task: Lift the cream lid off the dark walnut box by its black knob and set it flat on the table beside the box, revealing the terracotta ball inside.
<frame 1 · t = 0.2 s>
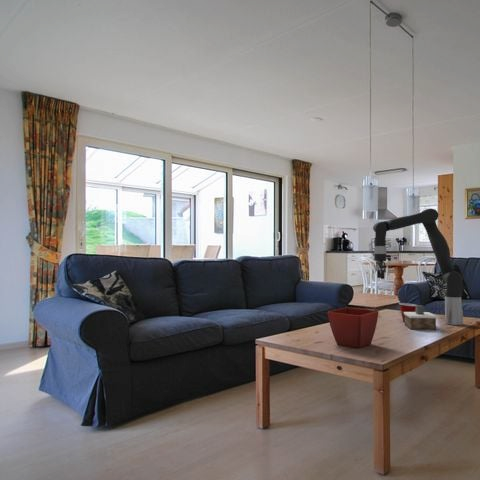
hand: (380, 278, 267), 29 cm above the table, tool pointing down, fingers open, 8 cm apart
walnut box: (419, 327, 252), on the table
plastic cup: (408, 322, 270), on the table
terracotta ball: (419, 322, 252), point 3 cm above the table, touching walnut box
plant pot: (353, 344, 211), on the table
cream lid: (419, 315, 252), point 7 cm above the table, touching walnut box
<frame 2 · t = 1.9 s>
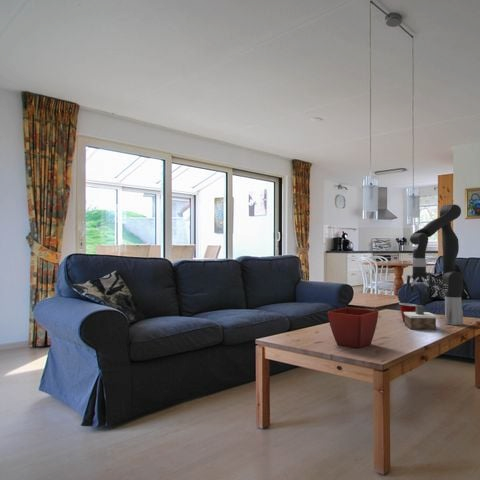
hand: (419, 292, 252), 21 cm above the table, tool pointing down, fingers open, 8 cm apart
nothing on the table moved.
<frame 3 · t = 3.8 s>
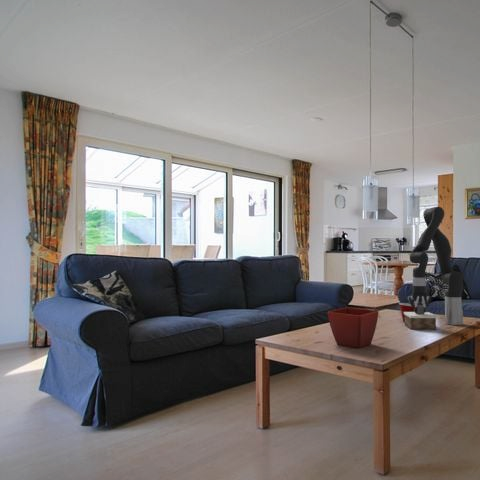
hand: (419, 313, 252), 9 cm above the table, tool pointing down, fingers closed on cream lid, 3 cm apart
cream lid: (419, 315, 252), point 7 cm above the table, touching gripper, walnut box
everything else where it was.
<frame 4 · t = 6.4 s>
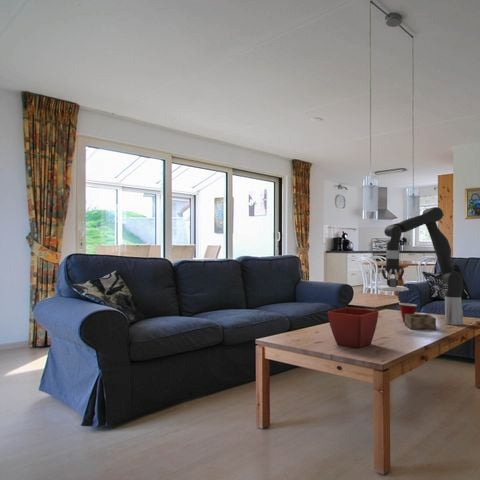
hand: (392, 285, 254), 25 cm above the table, tool pointing down, fingers closed on cream lid, 3 cm apart
cream lid: (392, 288, 254), point 23 cm above the table, touching gripper
everything else where it was.
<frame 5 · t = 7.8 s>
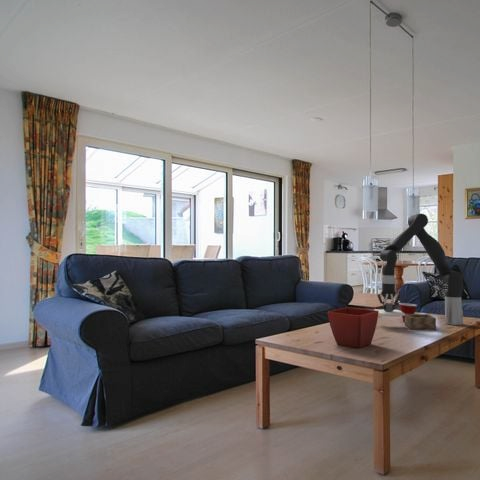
hand: (388, 310, 254), 10 cm above the table, tool pointing down, fingers closed on cream lid, 3 cm apart
cream lid: (388, 313, 254), point 8 cm above the table, touching gripper
everything else where it was.
when the fingers open (4 cm above the table, at t = 9.1 s): cream lid drops 2 cm, on the table.
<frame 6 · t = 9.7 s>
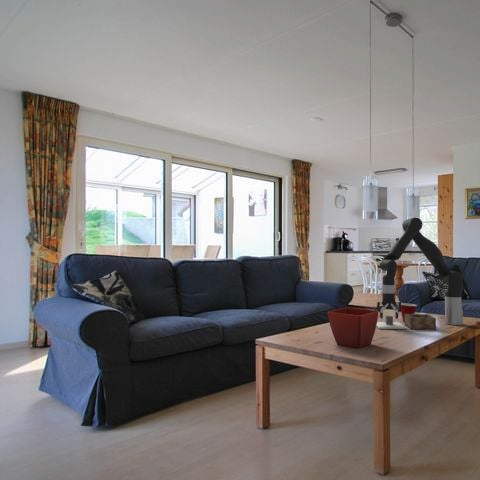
hand: (389, 318, 254), 5 cm above the table, tool pointing down, fingers open, 8 cm apart
cream lid: (389, 326, 254), on the table
everything else where it was.
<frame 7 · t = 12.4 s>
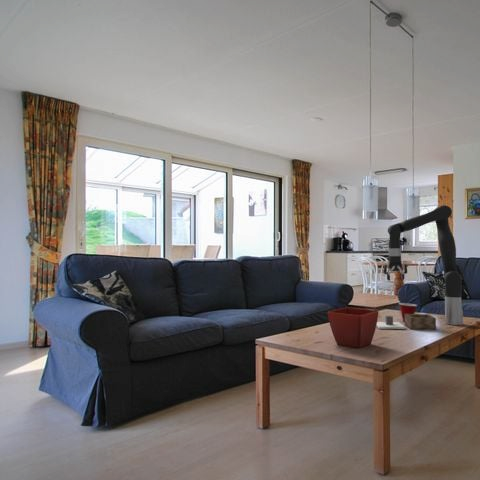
hand: (395, 280, 269), 27 cm above the table, tool pointing down, fingers open, 8 cm apart
nothing on the table moved.
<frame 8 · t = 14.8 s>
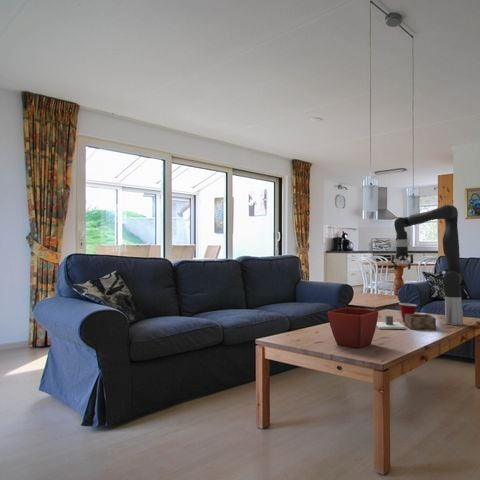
hand: (402, 269, 287), 33 cm above the table, tool pointing down, fingers open, 8 cm apart
nothing on the table moved.
at the end: cream lid inside the target area (0.1 cm from its centre), point 0.5 cm above the table; cream lid tilted 0°; cream lid touching table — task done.
